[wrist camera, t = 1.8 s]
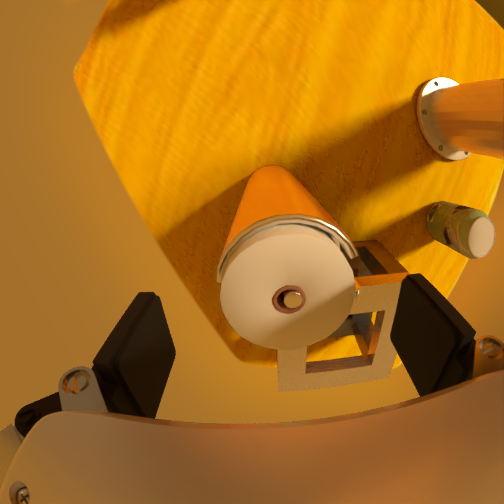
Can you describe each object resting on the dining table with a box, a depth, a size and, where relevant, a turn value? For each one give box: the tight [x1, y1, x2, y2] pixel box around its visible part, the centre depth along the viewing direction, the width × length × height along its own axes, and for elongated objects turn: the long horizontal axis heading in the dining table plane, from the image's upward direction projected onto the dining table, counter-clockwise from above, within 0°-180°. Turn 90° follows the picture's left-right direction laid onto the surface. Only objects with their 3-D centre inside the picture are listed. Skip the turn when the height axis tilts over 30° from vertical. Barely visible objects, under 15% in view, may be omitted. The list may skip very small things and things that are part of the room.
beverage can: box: [426, 201, 495, 259], centre depth 28 cm, size 6×7×12 cm
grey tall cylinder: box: [216, 165, 361, 350], centre depth 22 cm, size 6×6×25 cm
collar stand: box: [277, 240, 410, 391], centre depth 33 cm, size 15×15×12 cm
